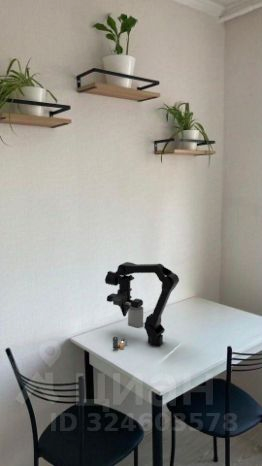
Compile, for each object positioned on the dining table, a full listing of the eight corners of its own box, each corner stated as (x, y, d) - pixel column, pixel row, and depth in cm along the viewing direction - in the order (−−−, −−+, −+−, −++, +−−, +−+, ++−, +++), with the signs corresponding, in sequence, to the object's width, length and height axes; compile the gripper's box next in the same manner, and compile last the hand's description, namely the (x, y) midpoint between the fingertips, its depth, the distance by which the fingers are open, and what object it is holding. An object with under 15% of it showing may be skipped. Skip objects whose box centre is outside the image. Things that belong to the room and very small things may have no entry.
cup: (141, 328, 215) (141, 311, 213) (126, 327, 216) (127, 310, 214) (144, 322, 223) (144, 305, 221) (129, 321, 224) (130, 304, 222)
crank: (121, 341, 196) (121, 330, 195) (128, 343, 194) (128, 332, 193) (110, 349, 188) (110, 337, 186) (117, 351, 185) (117, 340, 184)
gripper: (100, 288, 196) (100, 317, 199) (132, 295, 187) (131, 325, 189) (112, 282, 205) (112, 310, 208) (143, 288, 196) (143, 318, 199)
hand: (124, 316), depth 201 cm, fingers closed
